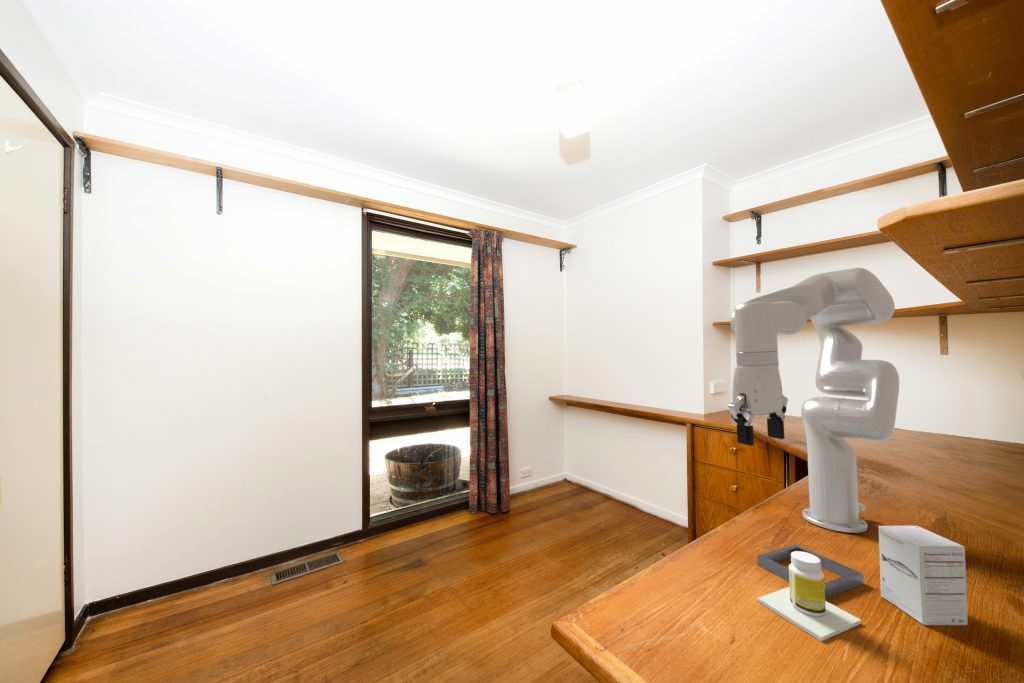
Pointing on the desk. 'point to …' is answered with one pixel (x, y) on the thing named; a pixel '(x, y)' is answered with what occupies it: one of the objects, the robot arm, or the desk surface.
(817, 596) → the supplement bottle
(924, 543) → the supplement box
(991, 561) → the desk surface
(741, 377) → the robot arm
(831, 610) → the mat
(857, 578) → the frame
